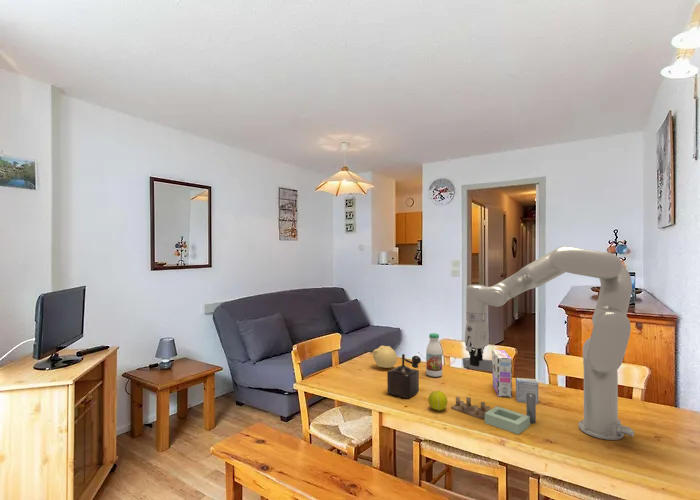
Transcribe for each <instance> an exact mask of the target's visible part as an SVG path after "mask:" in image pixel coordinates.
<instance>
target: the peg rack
mask: <svg viewBox="0 0 700 500" xmlns="http://www.w3.org/2000/svg"><path fill="white" fill-rule="evenodd" d="M471 400H472V398H471V397H469V396H468V397H467V396H466V403H465V401H464V400H461V397H460V396H455V404H454V405H452V406H450V407H451V408H450V409H452V410H453V411H457V412H460V413H463V414H466V415H469V416H472V417H474V418H477V419H480V420H483V421H485V413H486V412H488V411H489V410H491V406H489V405H486V402H485V401H480V407H479V406H478V405H472V401H471Z"/></svg>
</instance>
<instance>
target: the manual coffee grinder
mask: <svg viewBox="0 0 700 500" xmlns="http://www.w3.org/2000/svg"><path fill="white" fill-rule="evenodd" d="M401 359H402V360H401V365H399V366H396V367H394V368H392V369H390V370H388V371H387V372H386V374H387V377H386V378H387V379H386V380H387V392H386V393H387V394H389V395H393V396H395V397H401V398H407V399H409V398H412V397H413V396H415V395H417V394H418V393H419V391H420V389H419V388H420V387H419V385H420V384H419V383H420V381H419V380H420V377H419V376H420V375H419V374H420V371H419V369H418V368H419V364H421V362H422V359H421V357H420V356H418V355H413V356H412V357H411V360H409V359H407V358H406V355H405V353H402V354H401ZM405 362H407V363H408V364H411V366H412V368H411V367H408V366H406V365H405Z"/></svg>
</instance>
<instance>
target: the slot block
mask: <svg viewBox="0 0 700 500" xmlns="http://www.w3.org/2000/svg"><path fill="white" fill-rule="evenodd" d="M484 424H487V425H490V426H493V427H495V428H499V429H501V430H505V431H507V432H510V433H513V434H514V435H515V434H516V435H520V434H521V433H522V432H524V431H526V430H527V429H528V428H529V427H530V426H531V423H530V416H527V415H526V414H523V413H520V412H516V411H514V410H510V409H507V408H504V407H500V406H497V405H496V406H494V407H493V408H490V410H489V411H488V412H486V413H485V420H484Z"/></svg>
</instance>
